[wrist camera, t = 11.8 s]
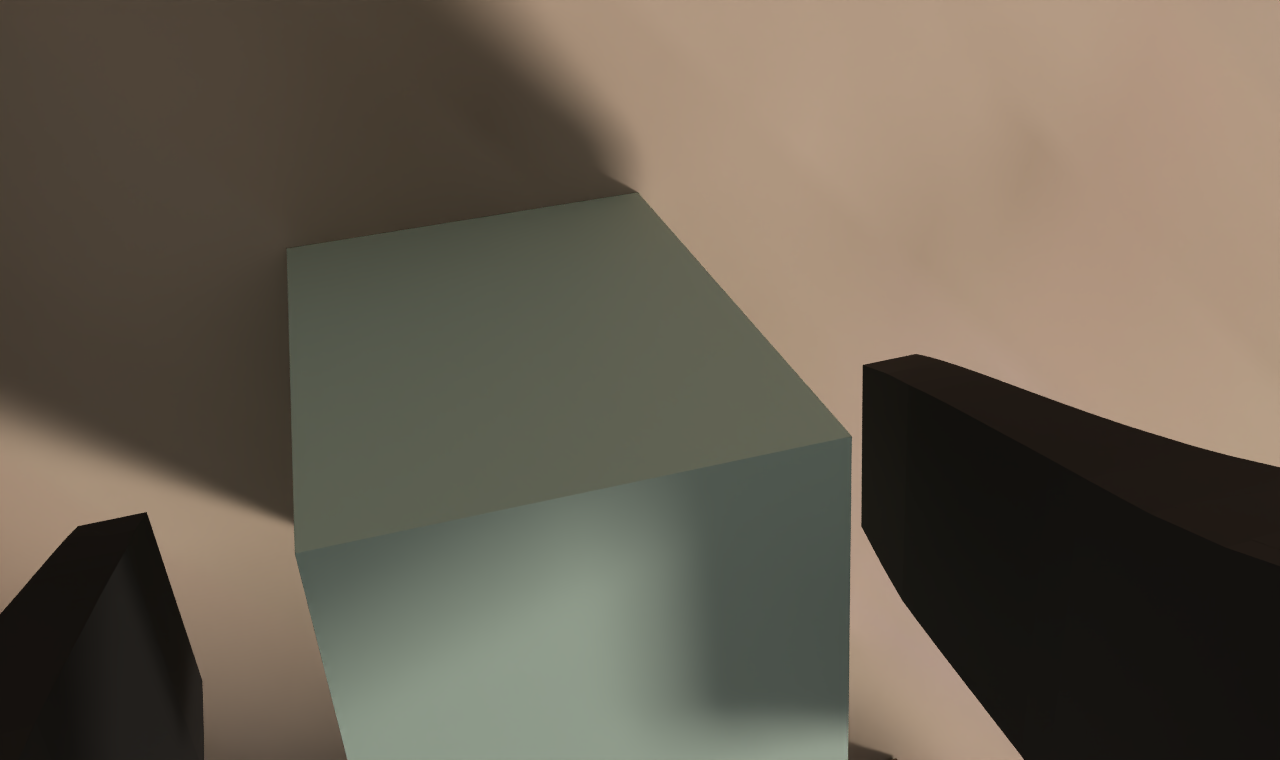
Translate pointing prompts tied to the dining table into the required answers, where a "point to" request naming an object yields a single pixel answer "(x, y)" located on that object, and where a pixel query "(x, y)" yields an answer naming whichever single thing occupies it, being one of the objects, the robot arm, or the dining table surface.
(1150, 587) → the robot arm
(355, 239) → the sage block
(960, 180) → the dining table surface
